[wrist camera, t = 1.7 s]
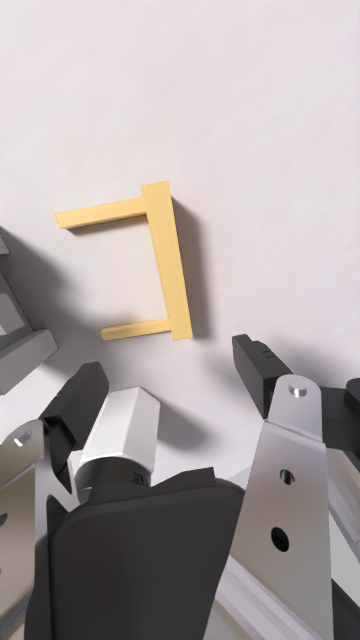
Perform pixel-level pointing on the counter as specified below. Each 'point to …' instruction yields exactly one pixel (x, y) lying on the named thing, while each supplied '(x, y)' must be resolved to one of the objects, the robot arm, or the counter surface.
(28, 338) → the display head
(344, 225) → the counter surface
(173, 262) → the tan u-shaped bracket
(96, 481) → the jar
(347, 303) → the counter surface
